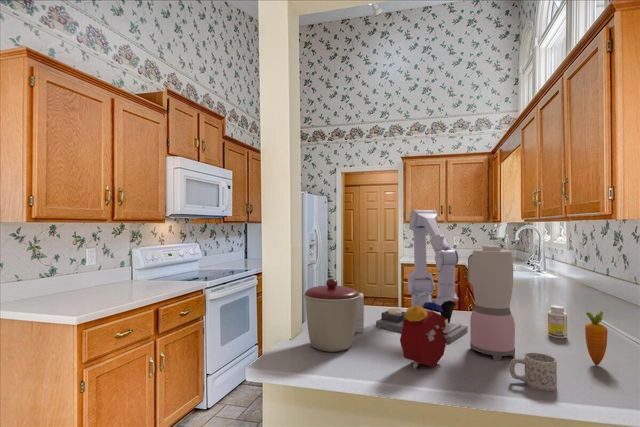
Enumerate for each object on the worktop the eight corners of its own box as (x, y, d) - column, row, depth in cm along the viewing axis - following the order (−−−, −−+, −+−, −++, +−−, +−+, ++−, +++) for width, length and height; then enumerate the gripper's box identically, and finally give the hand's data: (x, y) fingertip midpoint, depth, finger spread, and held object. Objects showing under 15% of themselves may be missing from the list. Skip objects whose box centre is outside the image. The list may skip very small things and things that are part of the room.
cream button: (392, 313, 142) (392, 307, 142) (404, 315, 139) (404, 310, 139) (385, 315, 138) (385, 310, 138) (397, 317, 135) (397, 312, 135)
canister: (295, 340, 119) (296, 275, 120) (346, 335, 125) (346, 273, 126) (312, 360, 102) (313, 285, 103) (370, 353, 108) (371, 282, 109)
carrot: (583, 365, 101) (583, 310, 101) (587, 360, 104) (586, 307, 105) (606, 370, 97) (605, 313, 98) (609, 365, 101) (608, 310, 101)
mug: (550, 380, 91) (550, 354, 91) (561, 393, 84) (561, 364, 84) (506, 376, 93) (506, 350, 93) (513, 387, 87) (513, 359, 87)
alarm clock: (428, 354, 108) (428, 286, 108) (456, 362, 102) (456, 290, 102) (399, 367, 98) (399, 292, 98) (428, 378, 92) (428, 298, 92)
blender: (525, 357, 106) (525, 247, 107) (493, 362, 102) (493, 248, 102) (483, 340, 121) (483, 243, 122) (453, 344, 117) (453, 244, 117)
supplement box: (363, 327, 135) (363, 292, 135) (363, 333, 128) (364, 296, 128) (343, 326, 136) (343, 292, 136) (342, 332, 128) (342, 296, 129)
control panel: (396, 317, 148) (396, 306, 148) (467, 331, 130) (467, 319, 130) (376, 326, 136) (376, 314, 136) (450, 343, 118) (450, 329, 118)
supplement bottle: (556, 333, 129) (556, 304, 130) (571, 338, 124) (571, 308, 124) (543, 334, 128) (543, 305, 128) (557, 339, 123) (557, 308, 123)
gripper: (449, 287, 120) (449, 329, 120) (465, 282, 131) (464, 320, 131) (429, 285, 125) (429, 325, 125) (445, 280, 136) (445, 316, 136)
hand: (446, 322), depth 128 cm, fingers closed
